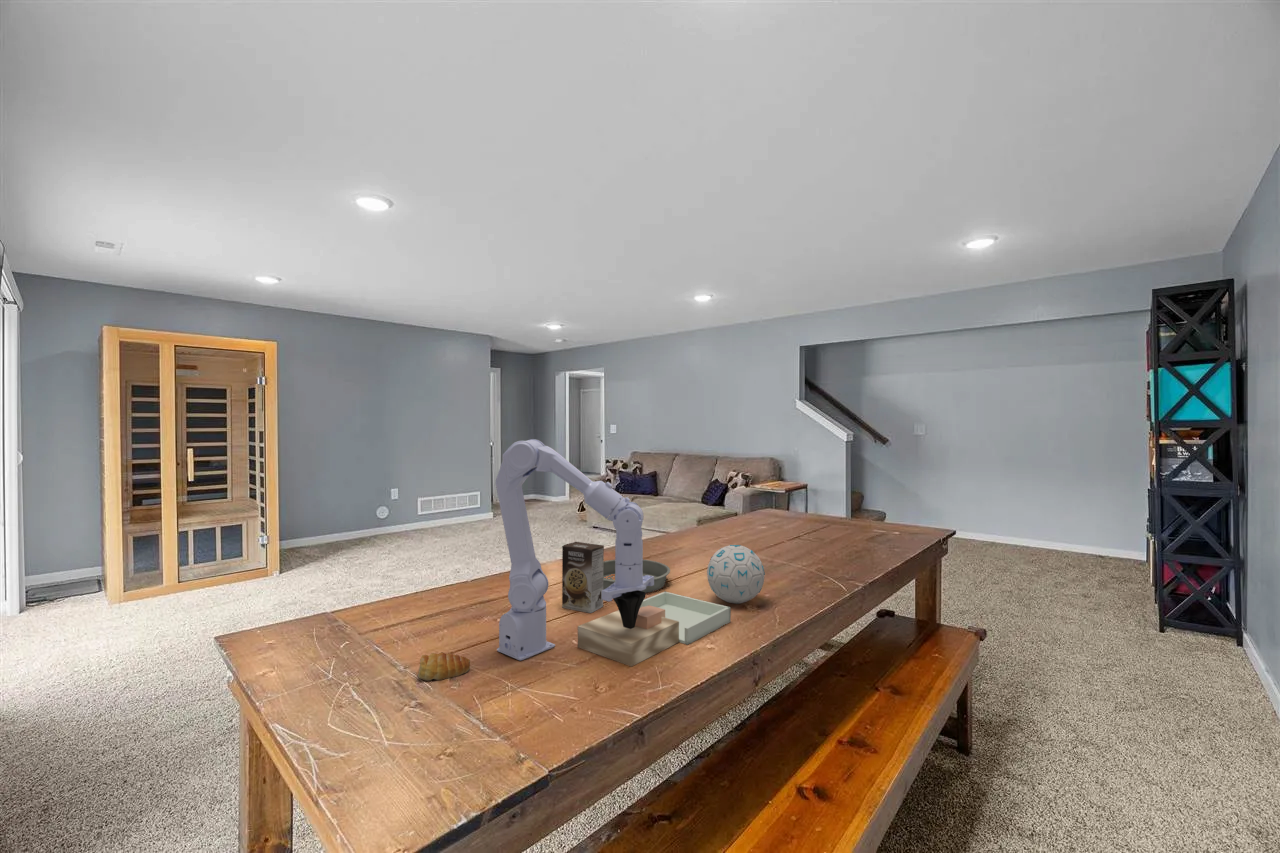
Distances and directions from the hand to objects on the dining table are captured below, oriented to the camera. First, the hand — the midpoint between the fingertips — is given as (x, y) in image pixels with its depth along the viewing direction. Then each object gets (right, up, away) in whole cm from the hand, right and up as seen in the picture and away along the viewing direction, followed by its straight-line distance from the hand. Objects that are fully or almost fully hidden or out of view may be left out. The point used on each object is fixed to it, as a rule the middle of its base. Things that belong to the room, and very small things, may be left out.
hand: (628, 627), depth 120 cm
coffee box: (-12, -5, +28) cm, 31 cm away
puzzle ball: (+28, -5, +33) cm, 43 cm away
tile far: (+5, -2, +17) cm, 18 cm away
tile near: (+3, -1, +4) cm, 5 cm away
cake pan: (-1, -5, +50) cm, 50 cm away
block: (0, -5, +4) cm, 6 cm away
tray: (+11, -5, +17) cm, 21 cm away
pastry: (-36, -6, -10) cm, 38 cm away
